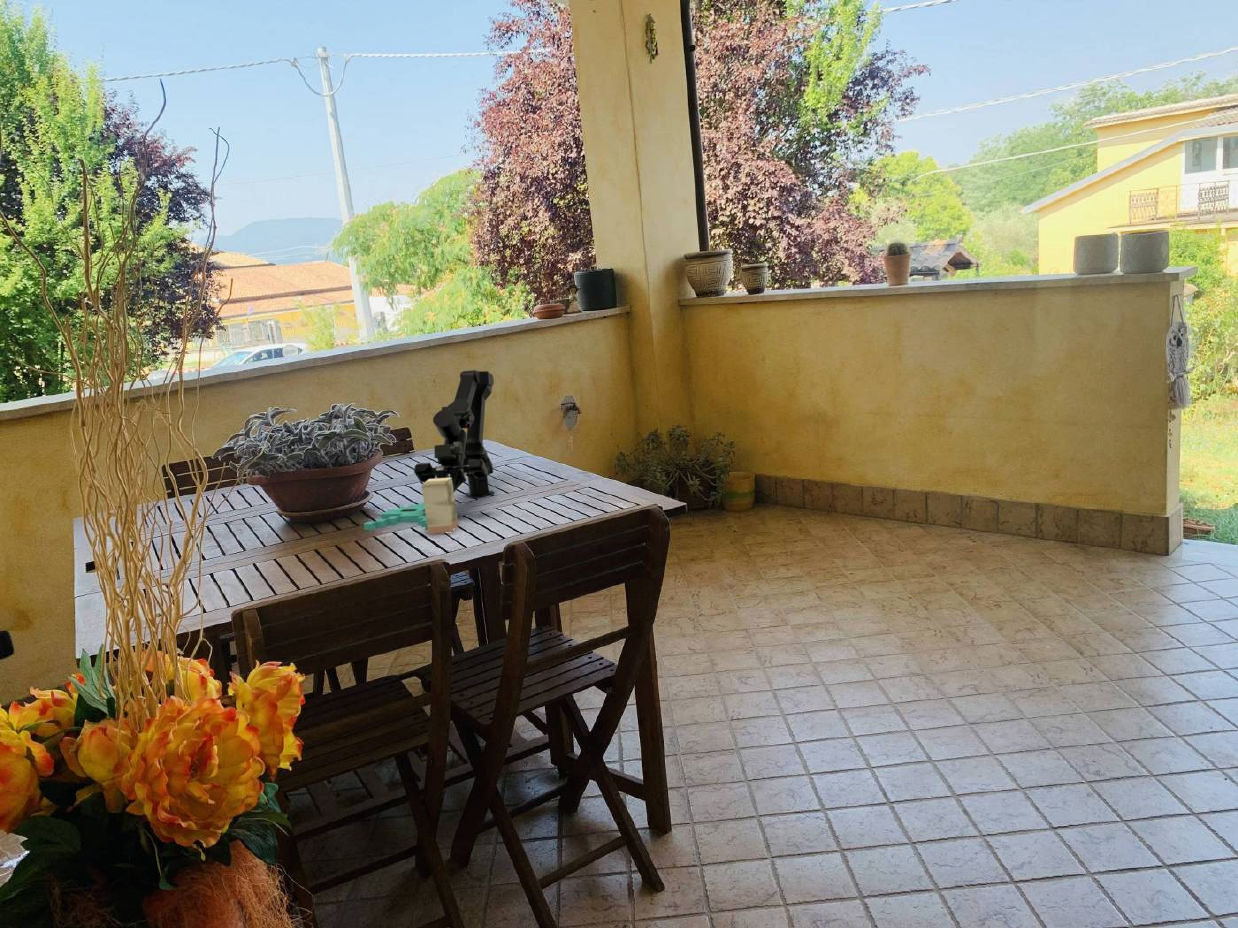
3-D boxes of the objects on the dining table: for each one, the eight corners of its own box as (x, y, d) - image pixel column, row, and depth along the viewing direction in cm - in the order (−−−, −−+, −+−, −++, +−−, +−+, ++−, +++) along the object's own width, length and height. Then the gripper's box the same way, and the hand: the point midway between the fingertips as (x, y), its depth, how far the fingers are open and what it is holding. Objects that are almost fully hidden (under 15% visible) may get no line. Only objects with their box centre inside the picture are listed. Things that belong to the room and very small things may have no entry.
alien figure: (433, 531, 235) (466, 508, 254) (432, 522, 235) (465, 501, 253) (365, 532, 241) (402, 510, 260) (363, 524, 240) (400, 502, 259)
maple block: (436, 527, 237) (429, 478, 234) (458, 526, 236) (451, 477, 233) (428, 534, 231) (421, 484, 228) (451, 533, 230) (444, 483, 227)
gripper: (410, 434, 241) (402, 485, 232) (479, 428, 238) (473, 480, 230) (424, 456, 250) (417, 506, 242) (490, 451, 247) (485, 502, 239)
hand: (447, 498), depth 238 cm, fingers closed
